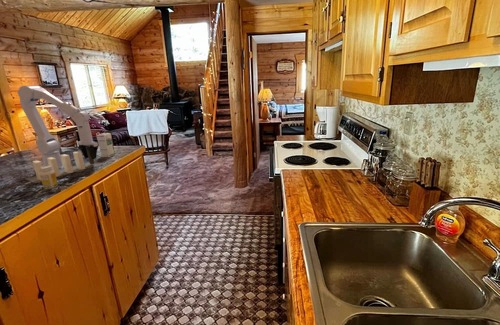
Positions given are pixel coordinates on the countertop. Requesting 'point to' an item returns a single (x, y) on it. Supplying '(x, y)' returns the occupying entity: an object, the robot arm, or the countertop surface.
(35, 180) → the mat
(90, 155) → the domino
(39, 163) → the domino
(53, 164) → the domino
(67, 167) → the domino
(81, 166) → the domino
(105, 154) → the syrup box
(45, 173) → the supplement bottle
